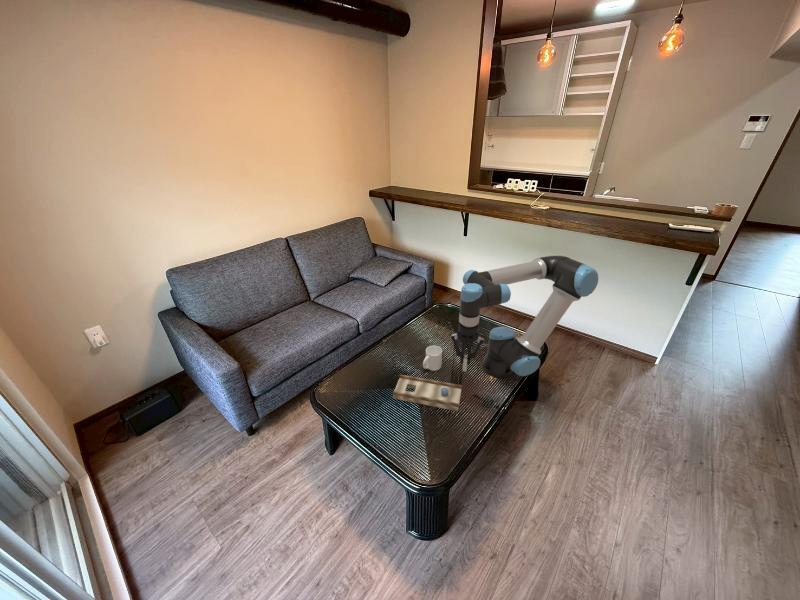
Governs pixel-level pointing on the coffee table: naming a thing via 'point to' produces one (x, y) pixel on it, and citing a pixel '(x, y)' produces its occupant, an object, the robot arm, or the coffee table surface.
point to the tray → (428, 392)
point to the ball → (444, 391)
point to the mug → (433, 358)
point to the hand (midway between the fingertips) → (464, 369)
